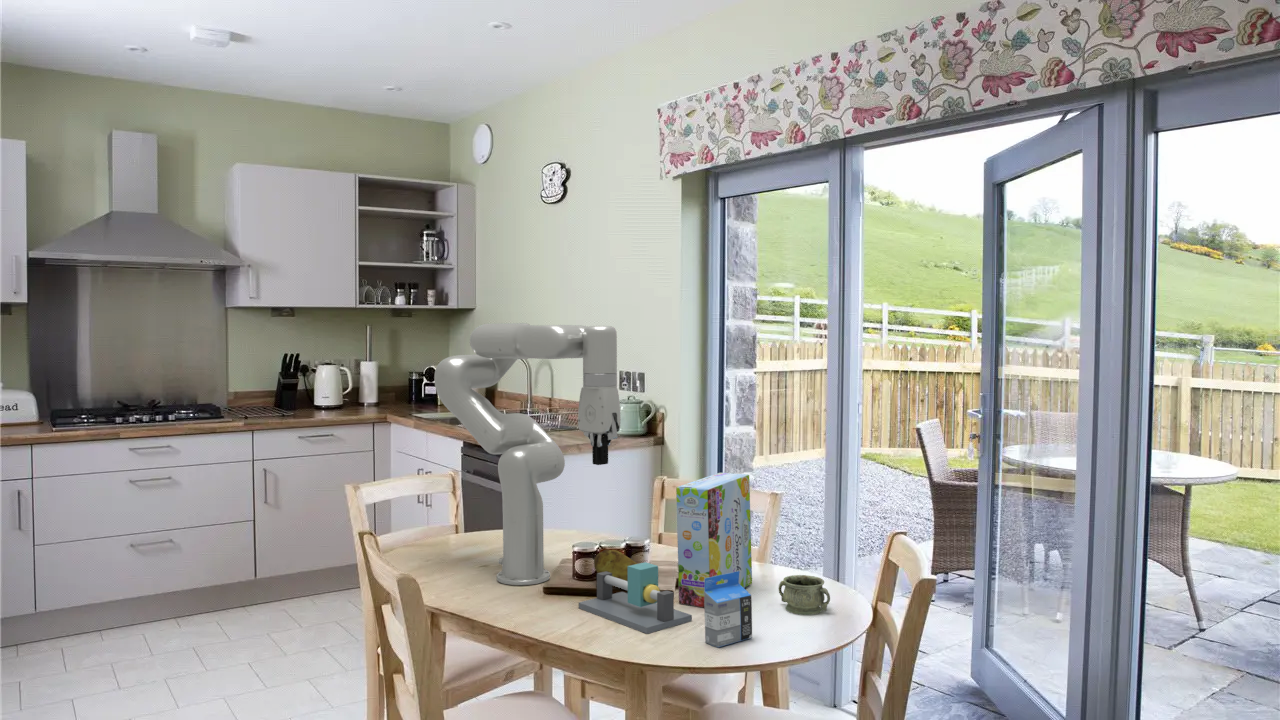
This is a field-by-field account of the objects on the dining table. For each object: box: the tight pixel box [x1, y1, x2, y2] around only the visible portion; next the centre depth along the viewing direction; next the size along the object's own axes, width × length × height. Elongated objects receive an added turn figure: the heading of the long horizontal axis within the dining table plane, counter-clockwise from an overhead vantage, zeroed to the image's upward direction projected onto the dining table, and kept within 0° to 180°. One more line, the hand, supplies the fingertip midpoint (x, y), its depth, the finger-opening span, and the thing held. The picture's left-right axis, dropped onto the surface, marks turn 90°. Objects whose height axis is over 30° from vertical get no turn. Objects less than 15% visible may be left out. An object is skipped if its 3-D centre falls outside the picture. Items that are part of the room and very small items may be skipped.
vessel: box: [778, 574, 831, 616], centre depth 190 cm, size 12×9×6 cm
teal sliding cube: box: [627, 561, 659, 607], centre depth 184 cm, size 4×5×8 cm
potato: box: [593, 549, 638, 581], centre depth 208 cm, size 8×13×8 cm, turn 44°
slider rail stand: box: [578, 571, 693, 635], centre depth 187 cm, size 22×12×7 cm, turn 41°
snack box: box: [675, 472, 753, 608], centre depth 201 cm, size 22×9×26 cm, turn 149°
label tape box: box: [704, 571, 753, 648], centre depth 170 cm, size 9×4×12 cm, turn 126°
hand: (600, 463), depth 201 cm, fingers closed
